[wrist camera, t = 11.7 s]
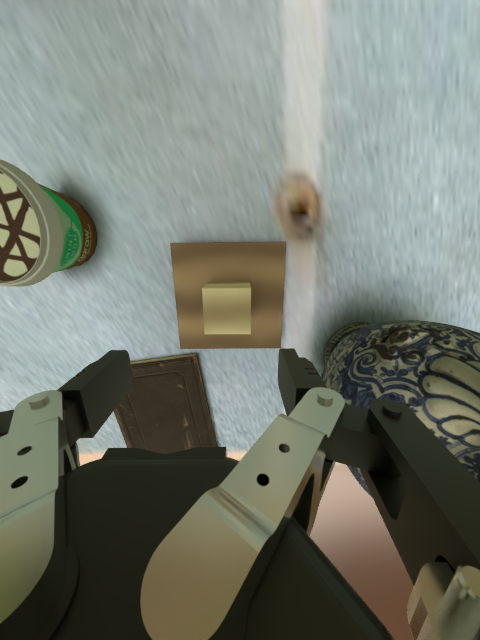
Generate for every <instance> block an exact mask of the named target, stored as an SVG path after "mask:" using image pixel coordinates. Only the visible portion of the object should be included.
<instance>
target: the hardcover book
mask: <svg viewBox="0 0 480 640" xmlns="http://www.w3.org/2000/svg"><path fill="white" fill-rule="evenodd" d="M130 364H131V369H132V375H133V383H132V386H131V388H130V390H129V391H128V392H127V394H126V395H125V396H124V398H123V399H122V400H121V401H120V403H119V404H118V405H117V407H116V408H115V409H114V413H115V416H116V419H117V421H118V424H119V426H120V429H121V432H122V434H123V437H124V440H125V442H126V445H127V448H140V449H144V450H148V451H152V452H156V453H161V454H169V453H174V452H178V451H182V450H187V449H191V448H196V447H217V444H216V440H215V436H214V431H213V427H212V422H211V418H210V413H209V409H208V404H207V400H206V395H205V391H204V386H203V382H202V377H201V373H200V368H199V364H198V359H197V355H196V353H195V354H187V355H180V356H172V357H164V358H157V359H149V360H142V361H134V362H130Z"/></svg>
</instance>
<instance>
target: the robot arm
mask: <svg viewBox="0 0 480 640" xmlns="http://www.w3.org/2000/svg"><path fill="white" fill-rule="evenodd" d="M132 383H133V375H132V369H131V364H130V358H129V354H128V352H127V351H126V350H111V351H109V352H108V353H106V354H105V355H104V356H103V357H102V358H100V359H99V360H98V361H96V362H94V363H92V364H90V365H88V366H87V367H86V368H84V369H83V370H82V372H79V373H78V374H77V375H76V377H73V378H72V379H71V380H69V381H68V382H67V383H65V384H64V385H63V386H62V387H60V388H59V389H58V390H50V391H44V392H40V393H37V394H35V395H32V396H30V397H28V398H26V399H24V400H23V401H21V402H20V403H19V404H18V405H17V406H16V407H15V410H9V411H4V412H0V640H394V639H393V637H392V636H391V634H390V633H389V631H388V630H387V629H386V627H385V626H384V625H383V623H382V622H381V621H380V620H379V619H378V617H377V616H376V615H375V614H374V613H373V611H372V610H371V609H370V608H369V607H368V606H367V604H366V603H365V602H364V601H363V600H362V598H361V597H360V596H359V595H358V594H357V592H356V591H355V590H354V589H353V588H352V586H351V585H350V584H349V583H348V582H347V580H346V579H345V578H344V577H343V576H342V575H341V573H340V572H339V571H338V570H337V569H336V567H335V566H334V565H333V564H332V563H331V561H330V560H329V559H328V558H327V557H326V556H325V554H324V553H323V552H322V551H321V550H320V548H319V547H318V546H317V545H316V544H315V543H314V541H313V540H312V539H311V538H310V534H311V530H312V528H313V524H314V521H315V518H316V514H317V510H318V506H319V503H320V500H321V497H322V495H323V493H324V490H325V487H326V485H327V482H328V480H329V477H330V475H331V472H332V470H333V467H334V465H335V462H338V463H342V464H346V465H349V466H353V467H356V468H359V469H360V472H361V474H362V476H363V478H364V480H365V482H366V484H367V486H368V489H369V491H370V493H371V495H372V497H373V499H374V501H375V503H376V506H377V508H378V510H379V512H380V514H381V516H382V518H383V521H384V522H385V525H386V527H387V529H388V531H389V533H390V535H391V538H392V540H393V542H394V544H395V546H396V548H397V550H398V552H399V555H400V557H401V559H402V561H403V563H404V565H405V567H406V570H407V572H408V574H409V576H410V578H411V580H412V582H413V585H414V588H413V591H412V593H411V596H410V598H409V601H408V606H407V615H408V621H409V626H410V629H411V632H412V636H413V639H414V640H480V482H479V481H478V480H477V479H476V478H475V477H474V476H473V475H472V474H471V473H470V472H469V471H468V470H467V469H466V468H465V467H464V465H463V464H462V463H461V462H460V461H459V460H458V459H457V458H456V457H455V456H454V455H453V454H452V453H451V452H450V451H449V450H448V449H447V448H446V446H445V445H444V444H443V443H442V442H441V441H440V440H439V439H438V438H437V437H436V436H435V435H434V434H433V433H432V432H431V431H430V430H429V429H428V428H427V426H426V425H425V424H424V423H423V422H422V421H421V420H420V419H419V418H418V417H417V416H416V415H415V414H414V413H413V412H412V411H411V410H410V409H409V408H407V407H406V406H404V405H402V404H401V403H398V402H396V401H393V400H389V399H382V398H381V399H374V400H372V401H371V402H370V404H369V409H368V408H363V407H358V406H353V405H349V404H346V403H345V401H344V398H343V397H342V396H341V395H340V394H339V393H337V392H336V391H334V390H331V389H328V388H327V386H326V385H325V383H324V381H323V380H322V378H321V377H320V375H319V374H318V372H317V370H316V369H315V367H314V365H313V364H312V362H310V361H309V360H308V359H306V358H299V357H298V355H297V353H296V351H295V349H280V350H279V363H278V385H279V389H280V393H281V396H282V400H283V404H284V407H285V411H286V415H287V416H286V415H284V414H280V415H278V416H277V417H276V419H275V420H274V421H273V422H272V423H271V425H270V426H269V427H268V428H267V429H266V431H265V432H264V433H263V434H262V435H261V437H260V438H259V439H258V440H257V441H256V443H255V444H254V445H253V446H252V447H251V449H250V450H249V451H248V452H247V453H246V455H245V456H244V457H243V458H242V459H241V461H240V462H239V461H237V460H235V459H232V458H228V457H226V447H196V448H191V449H187V450H182V451H178V452H174V453H169V454H161V453H156V452H152V451H148V450H144V449H140V448H108V449H107V451H106V452H105V454H104V456H103V457H102V459H99V460H95V461H92V462H89V463H87V464H84V465H82V466H80V462H79V452H78V446H77V443H76V441H77V440H78V439H79V438H93V437H94V436H95V434H96V433H97V432H98V430H99V429H100V428H101V426H102V425H103V424H104V422H105V421H106V420H107V419H108V417H109V416H110V415H111V413H112V412H113V411H114V409H115V408H116V407H117V405H118V404H119V403H120V401H121V400H122V399H123V398H124V396H125V395H126V394H127V392H128V391H129V390H130V388H131V386H132Z"/></svg>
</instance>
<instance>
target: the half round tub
mask: <svg viewBox="0 0 480 640" xmlns="http://www.w3.org/2000/svg"><path fill="white" fill-rule="evenodd" d="M96 245H97V232H96V228H95V225H94V222H93V221H92V219H91V217H90V215H89V214H88V213H87V211H86V210H85V209H84V208H83V207H82V206H81V205H80V204H79V203H77V202H76V201H74V200H73V199H71V198H69V197H67V196H65V195H62V194H60V193H58V192H56V191H53V190H51V189H49V188H47V187H45V186H42V185H40V184H38V183H36V182H35V181H34V180H33V179H32V178H31V177H30V176H29V175H27V174H26V173H25V172H23V171H22V170H20V169H19V168H17V167H16V166H14V165H12V164H10V163H8V162H6V161H3V160H0V286H28V285H33V284H36V283H38V282H41V281H42V280H44V279H45V278H47V277H48V276H49V275H50V274H51V273H53V272H57V271H61V270H64V269H68V268H72V267H75V266H79V265H81V264H83V263H85V262H86V261H88V260H89V259H90V257H91V256H92V255H93V254H94V252H95V249H96Z"/></svg>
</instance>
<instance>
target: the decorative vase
mask: <svg viewBox="0 0 480 640" xmlns="http://www.w3.org/2000/svg"><path fill="white" fill-rule="evenodd" d="M324 362H325V366H326V367H325V369H324V372H323V374H322V376H321V377H322V380H323V381H324V383H325V385H326V386H327V388H328V389H331V390H334V391H336V392H337V393H339V394H340V395H341V396H342V397H343V398H344V401H345V403H346V404H349V405H353V406H358V407H363V408H368V409H369V404H370V402H371V401H372V400H374V399H381V398H382V399H389V400H393V401H396V402H398V403H401V404H402V405H404V406H406V407H407V408H409V409H410V410H411V411H412V412H413V413H414V414H415V415H416V416H417V417H418V418H419V419H420V420H421V421H422V422H423V423H424V424H425V425H426V426H427V428H428V429H429V430H430V431H431V432H432V433H433V434H434V435H435V436H436V437H437V438H438V439H439V440H440V441H441V442H442V443H443V444H444V445H445V446H446V448H447V449H448V450H449V451H450V452H451V453H452V454H453V455H454V456H455V457H456V458H457V459H458V460H459V461H460V462H461V463H462V464H463V465H464V467H465V468H466V469H467V470H468V471H469V472H470V473H471V474H472V475H473V476H474V477H475V478H476V479H477V480H478V481H479V482H480V333H478V332H474V331H471V330H468V329H464V328H460V327H456V326H452V325H447V324H441V323H435V322H428V321H415V320H402V321H390V322H383V323H378V324H371V323H364V322H359V323H353V324H350V325H347V326H345V327H343V328H341V329H340V330H339V331H337V332H336V333H335V334H334V335H333V336H332V337H331V338H330V340H329V341H328V343H327V345H326V348H325V351H324ZM347 466H348V467H349V469H350V471H351V472H352V474H353V475H354V477H355V478H356V479H357V481H358V482H359V484H360V485H361V486H362V487H363V488H364V490H366V492H367V493H368V494H369V495H370V496H371V497H372V495H371V493H370V491H369V489H368V486H367V484H366V482H365V480H364V478H363V476H362V474H361V472H360V469H359V468H356V467H353V466H349V465H347ZM372 498H373V497H372Z"/></svg>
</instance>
